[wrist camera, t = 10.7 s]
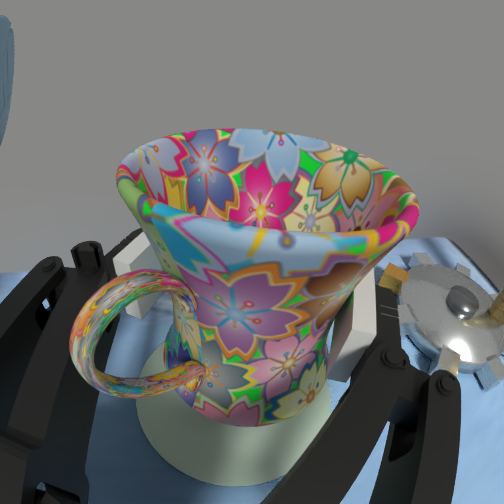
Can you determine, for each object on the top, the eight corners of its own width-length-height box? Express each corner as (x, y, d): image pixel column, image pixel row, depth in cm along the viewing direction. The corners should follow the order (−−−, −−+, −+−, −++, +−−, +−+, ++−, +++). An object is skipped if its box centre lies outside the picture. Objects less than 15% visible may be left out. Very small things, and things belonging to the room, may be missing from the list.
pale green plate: (103, 433, 11) (101, 430, 11) (187, 304, 20) (187, 301, 20) (306, 508, 9) (308, 507, 9) (339, 348, 18) (341, 344, 18)
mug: (228, 280, 20) (239, 121, 14) (353, 343, 16) (424, 174, 10) (87, 395, 11) (-11, 199, 5) (237, 521, 8) (303, 520, 1)
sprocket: (379, 378, 16) (503, 129, 7) (375, 252, 28) (417, 102, 19) (523, 392, 13) (629, 236, 4) (485, 283, 25) (537, 161, 16)
